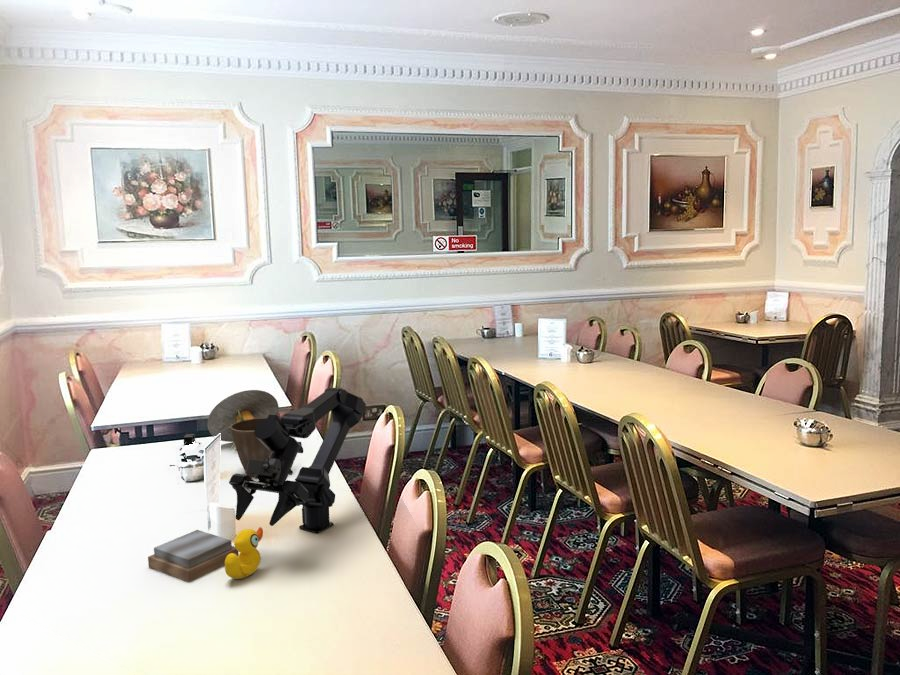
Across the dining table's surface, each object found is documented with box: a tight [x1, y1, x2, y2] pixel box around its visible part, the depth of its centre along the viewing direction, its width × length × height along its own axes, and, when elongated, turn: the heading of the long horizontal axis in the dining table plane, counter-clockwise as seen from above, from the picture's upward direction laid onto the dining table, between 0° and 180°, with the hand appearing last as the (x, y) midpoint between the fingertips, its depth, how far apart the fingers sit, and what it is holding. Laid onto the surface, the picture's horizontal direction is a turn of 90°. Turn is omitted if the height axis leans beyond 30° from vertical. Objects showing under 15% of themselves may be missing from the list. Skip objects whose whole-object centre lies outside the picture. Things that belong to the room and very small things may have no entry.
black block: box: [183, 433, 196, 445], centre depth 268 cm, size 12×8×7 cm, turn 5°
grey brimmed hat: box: [206, 389, 279, 451], centre depth 263 cm, size 25×18×25 cm
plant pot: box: [231, 418, 272, 478], centre depth 235 cm, size 15×15×16 cm
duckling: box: [224, 527, 264, 579], centre depth 168 cm, size 11×5×10 cm, turn 153°
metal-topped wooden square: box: [147, 529, 240, 583], centre depth 174 cm, size 14×14×4 cm
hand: (253, 522), depth 170 cm, fingers open, 9 cm apart
